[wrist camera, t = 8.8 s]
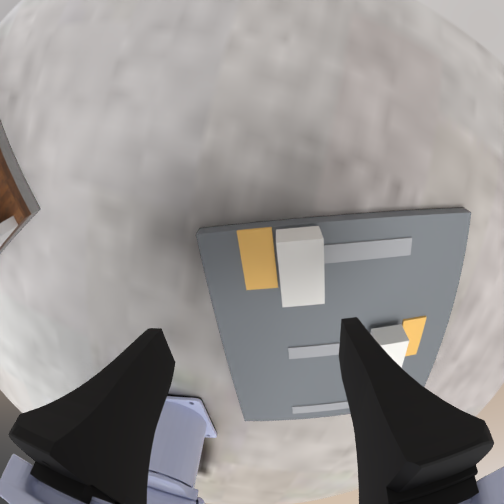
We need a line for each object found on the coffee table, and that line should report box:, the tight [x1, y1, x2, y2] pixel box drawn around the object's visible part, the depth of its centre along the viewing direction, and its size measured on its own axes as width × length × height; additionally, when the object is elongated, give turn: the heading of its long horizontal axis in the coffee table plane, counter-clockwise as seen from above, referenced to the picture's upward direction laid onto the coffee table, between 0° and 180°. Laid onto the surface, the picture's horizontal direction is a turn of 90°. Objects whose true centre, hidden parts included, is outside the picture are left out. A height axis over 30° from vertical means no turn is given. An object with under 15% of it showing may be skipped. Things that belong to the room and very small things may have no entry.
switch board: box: [196, 208, 471, 421], centre depth 21 cm, size 18×20×1 cm
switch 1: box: [276, 226, 325, 307], centre depth 16 cm, size 2×4×2 cm, turn 8°
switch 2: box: [370, 324, 409, 368], centre depth 19 cm, size 2×4×2 cm, turn 8°
